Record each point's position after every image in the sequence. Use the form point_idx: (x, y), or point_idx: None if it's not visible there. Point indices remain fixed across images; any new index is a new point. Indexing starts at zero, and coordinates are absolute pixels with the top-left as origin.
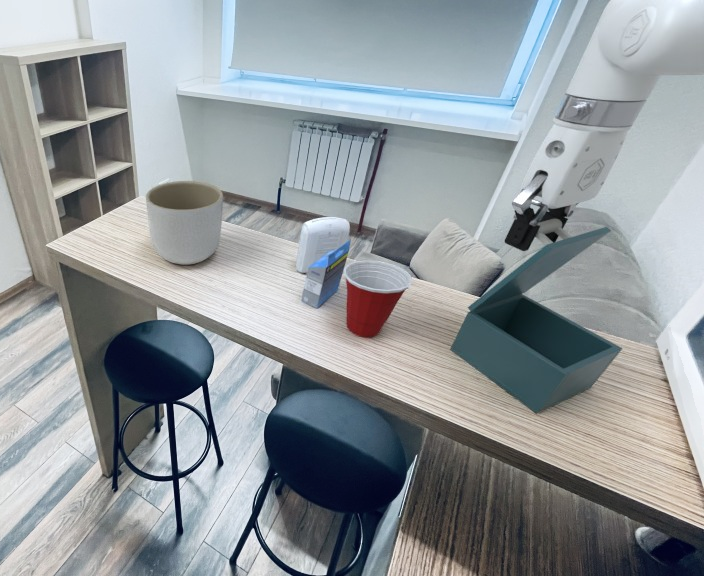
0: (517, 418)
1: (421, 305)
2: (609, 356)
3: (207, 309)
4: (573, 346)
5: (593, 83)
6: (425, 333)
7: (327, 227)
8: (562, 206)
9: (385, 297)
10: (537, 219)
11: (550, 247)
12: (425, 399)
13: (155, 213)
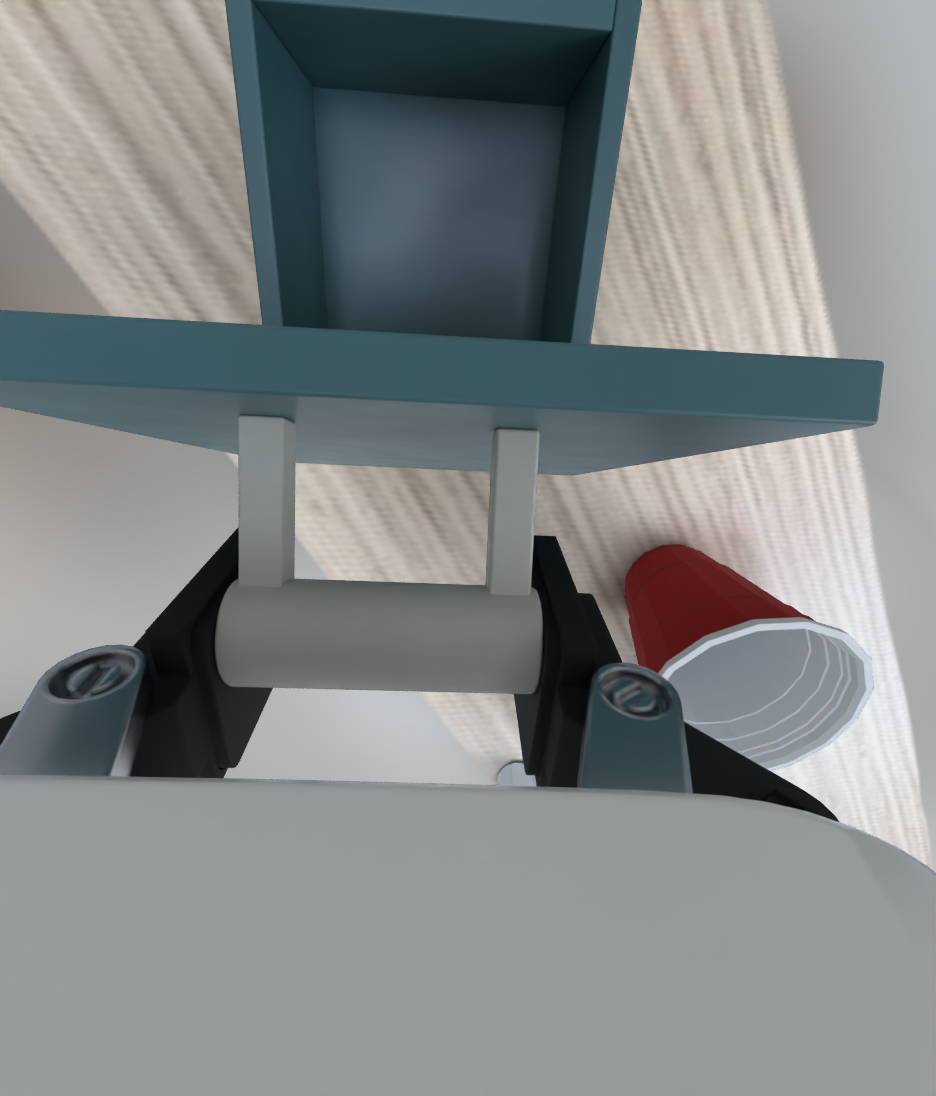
0: (649, 114)
1: (440, 582)
2: None
3: (898, 758)
4: (292, 171)
5: None
6: (539, 496)
7: None
8: (663, 800)
9: (810, 619)
10: (653, 718)
11: (878, 380)
12: (788, 310)
13: None
